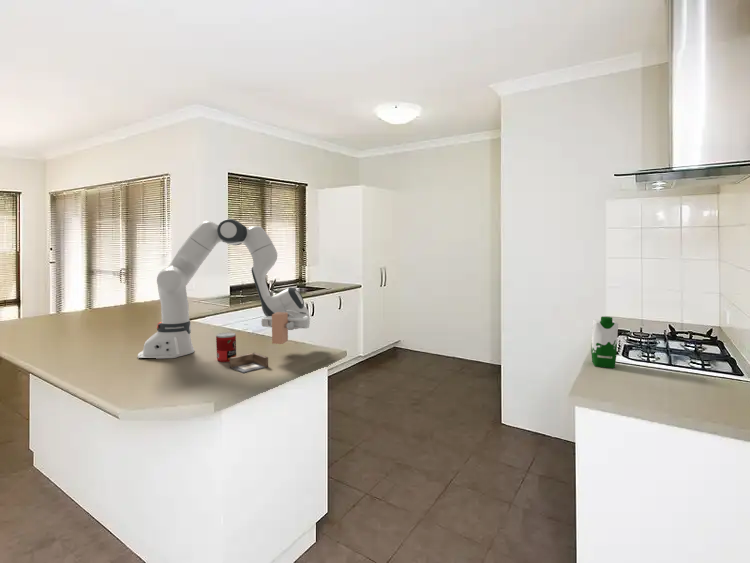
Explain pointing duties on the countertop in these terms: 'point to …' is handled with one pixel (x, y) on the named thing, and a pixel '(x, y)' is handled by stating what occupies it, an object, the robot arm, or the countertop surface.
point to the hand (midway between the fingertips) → (279, 325)
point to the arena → (248, 362)
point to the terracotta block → (279, 328)
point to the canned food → (225, 346)
